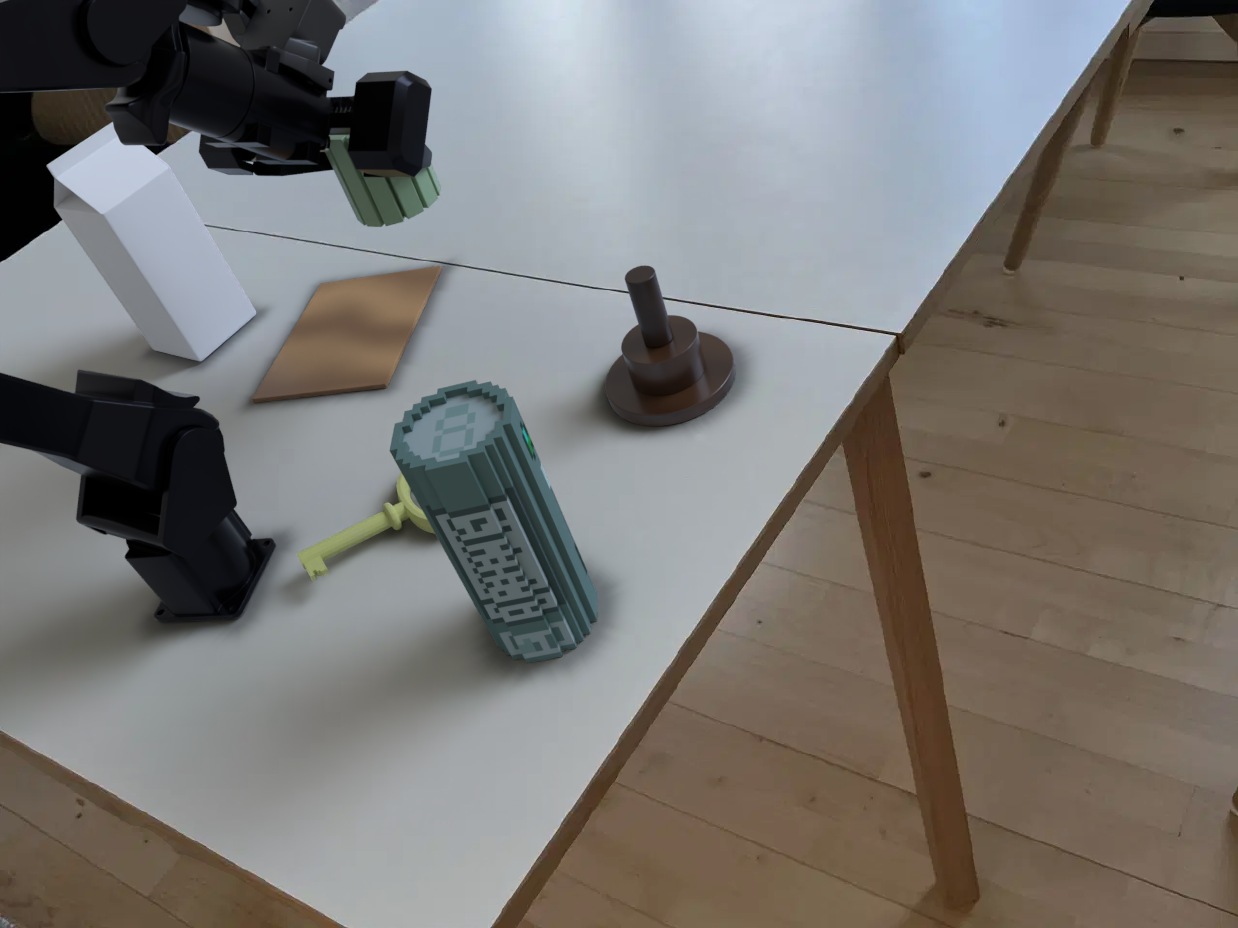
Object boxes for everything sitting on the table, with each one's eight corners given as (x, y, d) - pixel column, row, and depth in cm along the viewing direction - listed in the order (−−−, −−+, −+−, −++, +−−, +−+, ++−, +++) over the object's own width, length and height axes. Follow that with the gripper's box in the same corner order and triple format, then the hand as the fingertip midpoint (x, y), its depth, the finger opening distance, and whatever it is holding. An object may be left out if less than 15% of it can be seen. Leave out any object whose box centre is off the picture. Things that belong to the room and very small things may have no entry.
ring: (455, 194, 79) (419, 105, 74) (377, 236, 77) (335, 148, 72) (419, 171, 83) (383, 86, 79) (345, 210, 82) (304, 126, 77)
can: (596, 567, 63) (514, 370, 53) (597, 649, 58) (508, 451, 48) (498, 586, 64) (399, 397, 54) (492, 669, 59) (383, 479, 49)
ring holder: (730, 419, 69) (702, 307, 63) (598, 432, 72) (559, 325, 66) (740, 334, 75) (715, 225, 70) (619, 348, 78) (584, 244, 72)
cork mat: (387, 387, 82) (384, 383, 82) (253, 403, 86) (251, 399, 85) (442, 269, 93) (440, 265, 93) (322, 286, 97) (320, 283, 97)
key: (299, 580, 69) (284, 558, 67) (435, 459, 74) (423, 437, 73) (365, 624, 64) (350, 601, 63) (504, 492, 70) (493, 469, 68)
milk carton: (258, 314, 96) (142, 120, 84) (201, 364, 92) (71, 168, 80) (210, 305, 100) (92, 118, 88) (154, 352, 96) (22, 163, 84)
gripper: (349, -57, 61) (510, 43, 74) (139, -29, 70) (316, 55, 83) (326, 140, 61) (490, 204, 75) (121, 143, 70) (300, 199, 84)
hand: (394, 159), depth 79 cm, fingers closed on ring, 6 cm apart
